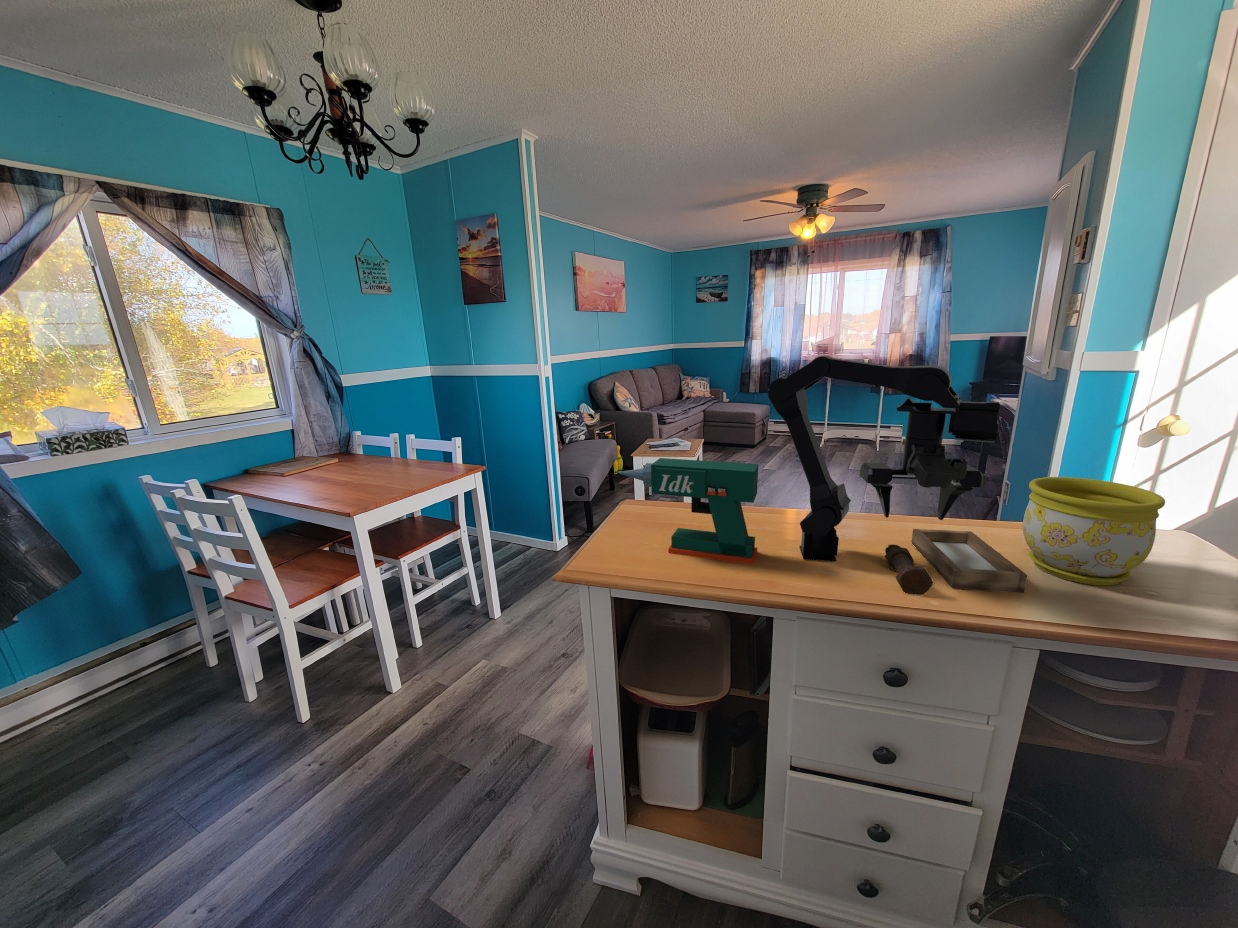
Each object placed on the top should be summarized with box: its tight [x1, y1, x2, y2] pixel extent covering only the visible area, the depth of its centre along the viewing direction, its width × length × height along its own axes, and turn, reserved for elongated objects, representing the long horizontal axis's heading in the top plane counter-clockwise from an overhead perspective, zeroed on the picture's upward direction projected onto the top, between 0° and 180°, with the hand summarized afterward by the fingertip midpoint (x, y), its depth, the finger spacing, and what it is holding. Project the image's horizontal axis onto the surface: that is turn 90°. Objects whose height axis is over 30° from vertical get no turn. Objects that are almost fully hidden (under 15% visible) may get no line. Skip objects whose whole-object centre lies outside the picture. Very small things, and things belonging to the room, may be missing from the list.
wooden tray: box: [910, 528, 1028, 594], centre depth 95 cm, size 11×20×4 cm, turn 168°
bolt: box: [884, 544, 934, 596], centre depth 92 cm, size 6×5×15 cm
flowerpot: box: [1022, 476, 1166, 586], centre depth 90 cm, size 18×18×16 cm
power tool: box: [615, 457, 759, 566], centre depth 105 cm, size 32×7×20 cm, turn 68°
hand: (912, 518), depth 90 cm, fingers open, 9 cm apart
